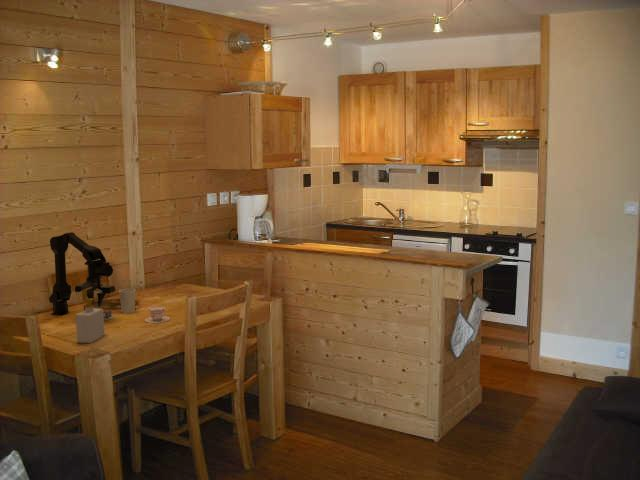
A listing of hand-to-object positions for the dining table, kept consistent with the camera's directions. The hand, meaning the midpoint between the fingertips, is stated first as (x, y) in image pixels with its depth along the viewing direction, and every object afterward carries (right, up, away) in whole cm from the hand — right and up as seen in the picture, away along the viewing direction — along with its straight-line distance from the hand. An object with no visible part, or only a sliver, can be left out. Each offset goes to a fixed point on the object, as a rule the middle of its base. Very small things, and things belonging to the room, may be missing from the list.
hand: (95, 306), depth 338 cm
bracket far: (+1, -6, +5) cm, 7 cm away
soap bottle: (+7, -12, -29) cm, 32 cm away
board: (0, -7, +1) cm, 7 cm away
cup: (+12, -5, +15) cm, 19 cm away
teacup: (+29, -7, +2) cm, 30 cm away
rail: (0, -1, 0) cm, 1 cm away
